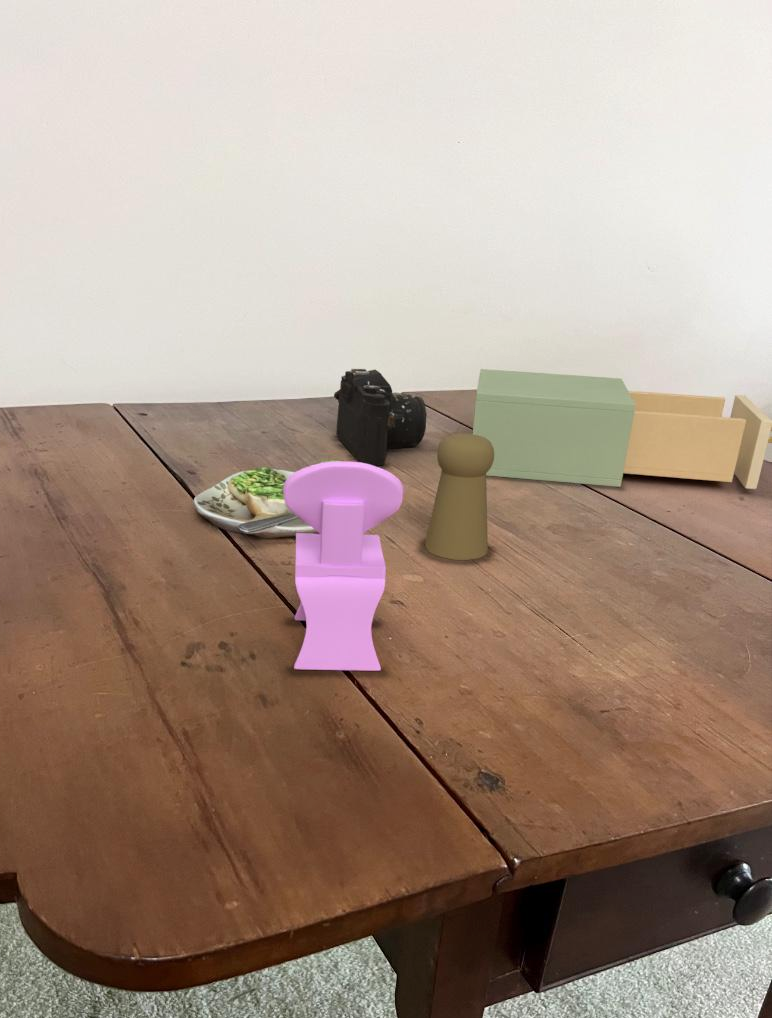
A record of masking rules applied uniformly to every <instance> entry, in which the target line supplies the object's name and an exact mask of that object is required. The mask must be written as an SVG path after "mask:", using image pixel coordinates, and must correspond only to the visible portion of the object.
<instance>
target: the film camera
mask: <svg viewBox="0 0 772 1018" xmlns="http://www.w3.org/2000/svg"><path fill="white" fill-rule="evenodd" d="M339 384H340V385H339V388H340V389H338V390H337V391H335V392H334V394H333V397H334V399H335V400H337V403H338V408H337V419H336V422H337V423H336V437H337V439H338V440H339V442H341V443H342V445H344V447H345V448H346V449H347V450H348V451H349V452H350V453H351V454H352V455H353V457H354V458H355V459H356V460H357V462H360V463H366V464H370V465H373V466H376V467H379V466H383V465H384V466H385V462H386V456H387V450H394V449H402V448H403V449H404V448H405V447H410V448H413V447H417V446H418V445H419V444H420V443H421V442H422V441H423V438H424V436H425V433H426V428H427V415H428V414H427V409H426V403H425V401H424V399H423V397H421V396H414V397H413V396H412V395H411V394H394V393H393V389H392V385H391V384H390V383H389V382H388V380H387V379H386V378H385V377H384V375H383V374H382V373H381V372H380V371H379V370H377V369H371V370H366V368H351V369H350V370H347V371H345V373H344V375H342V376H341V379H340V383H339Z"/></svg>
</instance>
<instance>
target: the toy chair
mask: <svg viewBox="0 0 772 1018" xmlns="http://www.w3.org/2000/svg"><path fill="white" fill-rule="evenodd" d="M343 461H344V460H342V461H334V462H325V463H320V462H319V463H320V464H318V463H316V464H312V465H309V466H306V467H303V468H301V469H299V470H297V471H294V472H295V473H293V474H292V475H290V476H289V477H288V478H287V480H286V481H285V483H284V486H283V496H284V501H285V504H286V506H287V507H288V509H289V510H290V511H291V512H292V513H293V514H295V515H296V516H297V517H299V518H300V519H301V521H303V522H305V523H306V524H308V525H309V526H311V527H312V528H314V529H315V530H316V531H317V532H318V533H319V534H311V533H296V536H295V570H294V571H295V574H294V575H295V577H294V579H295V580H294V581H295V582H294V585H295V590H296V593H297V595H298V598H299V600H300V604H299V606H298V608H297V610H296V613H295V615H294V620H295V621H302V622H303V621H304V622H305V623H306V625H305V626H306V628H305V634H304V639H303V643H302V645H301V647H300V650H299V653H298V655H297V658H296V659H295V662H294V665H293V669H294V670H304V671H305V670H309V671H310V670H313V671H315V670H317V671H367V672H368V671H371V672H375V671H376V672H377V671H378V672H379V671H381V670H382V668H381V667H382V666H381V664H380V661H379V658H378V656H377V653H376V649H375V646H374V641H373V636H372V624H373V622H374V615H375V613H376V610H377V607H378V605H379V603H380V600H381V598H382V596H383V593H384V591H385V589H386V588H385V587H386V571H387V567H386V562H385V557H384V554H383V549H382V543H381V538H380V535H379V534H366V533H367V532H368V531H370V530H371V529H373V528H375V527H376V526H378V525H380V524H382V523H383V522H384V521H385V520H387V519H388V518H390V517H392V516H393V515H395V514H396V513H397V512H398V510H400V508H401V505H402V504H403V498H404V486H403V483H402V482H401V480H400V479H399V477H398V476H396V475H395V474H394V473H392V472H389V471H388V470H386V469H385V468H381V467H379V466H373V465H370V464H366V463H361V462H359V461H345V462H343Z"/></svg>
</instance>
